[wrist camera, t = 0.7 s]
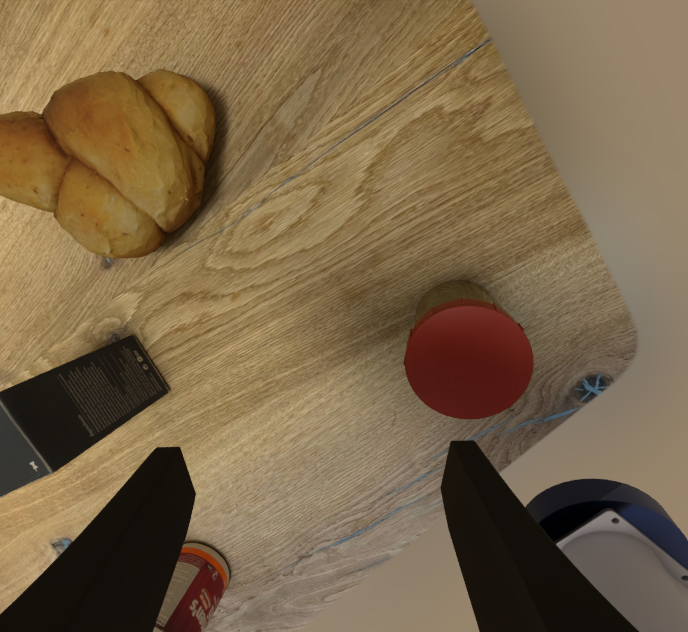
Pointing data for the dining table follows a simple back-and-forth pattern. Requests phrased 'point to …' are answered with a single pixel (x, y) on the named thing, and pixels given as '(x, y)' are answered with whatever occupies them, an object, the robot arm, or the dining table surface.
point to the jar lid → (468, 359)
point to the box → (72, 410)
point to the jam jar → (450, 295)
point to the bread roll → (112, 158)
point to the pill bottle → (193, 590)
